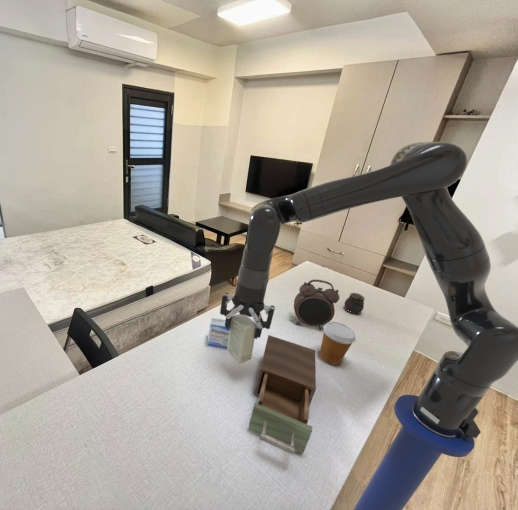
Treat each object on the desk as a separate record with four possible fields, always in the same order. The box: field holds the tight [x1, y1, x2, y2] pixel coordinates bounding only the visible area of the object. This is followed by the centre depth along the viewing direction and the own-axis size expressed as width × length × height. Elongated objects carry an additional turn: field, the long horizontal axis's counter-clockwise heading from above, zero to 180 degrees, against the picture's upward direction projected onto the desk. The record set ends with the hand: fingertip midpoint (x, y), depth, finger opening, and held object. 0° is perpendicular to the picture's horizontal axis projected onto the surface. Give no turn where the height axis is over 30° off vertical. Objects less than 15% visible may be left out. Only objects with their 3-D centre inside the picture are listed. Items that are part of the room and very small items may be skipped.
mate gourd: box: [344, 292, 366, 315], centre depth 121 cm, size 7×8×10 cm
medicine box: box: [207, 317, 230, 349], centre depth 95 cm, size 8×4×9 cm, turn 81°
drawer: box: [247, 373, 313, 455], centre depth 67 cm, size 19×13×8 cm, turn 155°
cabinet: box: [253, 334, 317, 410], centre depth 80 cm, size 16×14×10 cm
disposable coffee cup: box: [319, 321, 357, 366], centre depth 92 cm, size 10×10×12 cm
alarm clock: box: [293, 279, 340, 331], centre depth 107 cm, size 15×7×20 cm, turn 72°
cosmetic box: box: [226, 313, 257, 365], centre depth 78 cm, size 6×4×12 cm
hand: (242, 332), depth 77 cm, fingers closed on cosmetic box, 7 cm apart
